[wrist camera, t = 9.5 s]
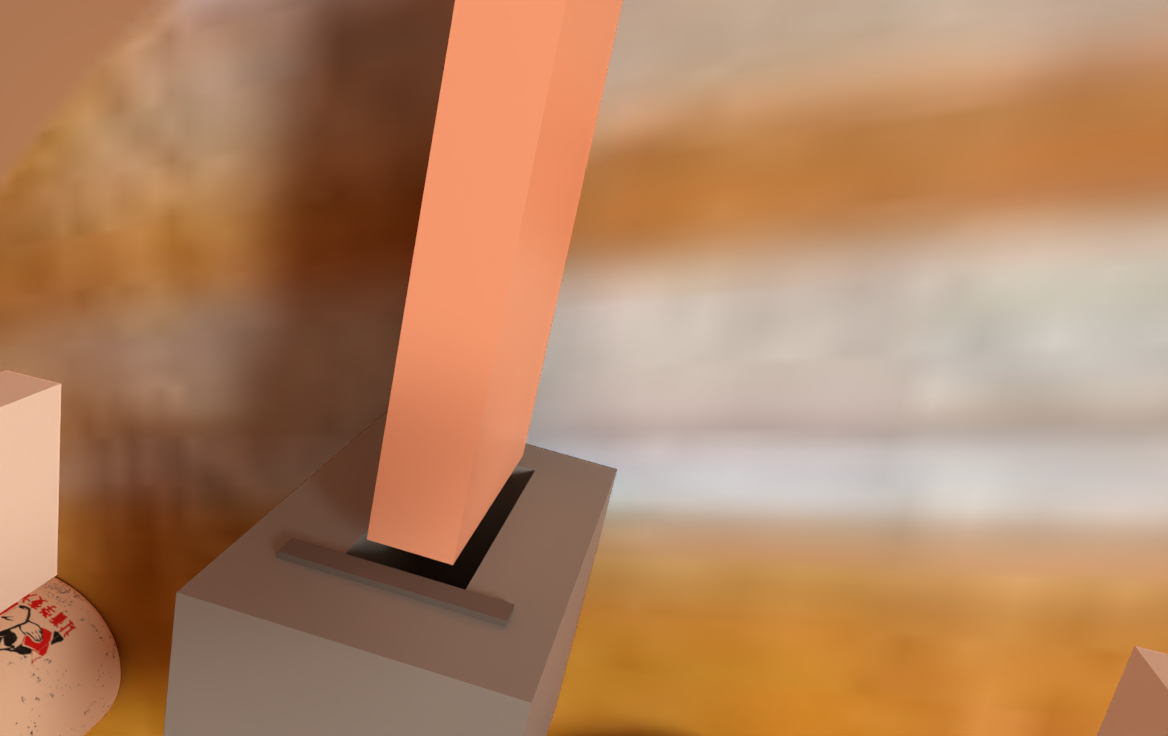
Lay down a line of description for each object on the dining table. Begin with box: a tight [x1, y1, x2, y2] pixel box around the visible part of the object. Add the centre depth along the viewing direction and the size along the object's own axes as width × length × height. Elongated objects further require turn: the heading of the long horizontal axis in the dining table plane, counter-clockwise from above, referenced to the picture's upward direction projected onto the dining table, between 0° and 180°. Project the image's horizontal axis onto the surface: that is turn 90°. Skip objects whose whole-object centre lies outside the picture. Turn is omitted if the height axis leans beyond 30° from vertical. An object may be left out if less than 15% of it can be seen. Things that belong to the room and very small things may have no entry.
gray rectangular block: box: [163, 411, 617, 736], centre depth 30 cm, size 11×9×14 cm
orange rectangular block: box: [367, 0, 623, 565], centre depth 26 cm, size 16×2×8 cm, turn 167°
